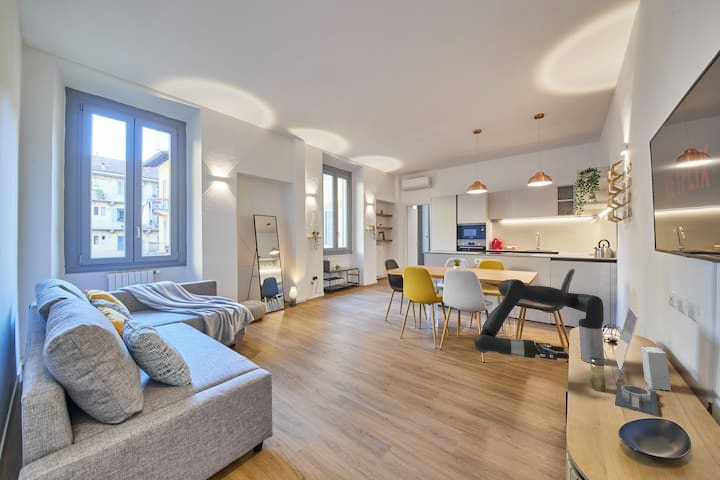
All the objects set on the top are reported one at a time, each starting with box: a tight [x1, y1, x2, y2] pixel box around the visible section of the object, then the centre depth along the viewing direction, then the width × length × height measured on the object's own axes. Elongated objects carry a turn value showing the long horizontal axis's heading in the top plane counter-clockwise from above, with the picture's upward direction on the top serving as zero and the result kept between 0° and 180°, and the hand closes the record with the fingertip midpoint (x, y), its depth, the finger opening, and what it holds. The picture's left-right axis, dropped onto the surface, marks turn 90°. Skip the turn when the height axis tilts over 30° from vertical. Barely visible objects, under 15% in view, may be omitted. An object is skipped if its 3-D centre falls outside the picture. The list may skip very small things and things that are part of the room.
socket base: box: [614, 382, 659, 417], centre depth 108 cm, size 20×11×4 cm, turn 136°
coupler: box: [589, 357, 607, 393], centre depth 117 cm, size 5×5×12 cm
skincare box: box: [640, 346, 672, 392], centre depth 118 cm, size 8×6×15 cm
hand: (566, 352), depth 121 cm, fingers open, 8 cm apart
